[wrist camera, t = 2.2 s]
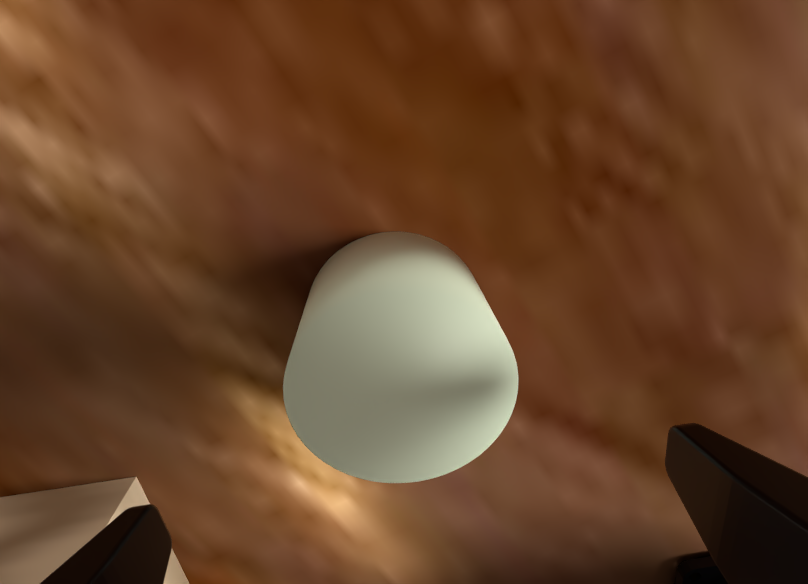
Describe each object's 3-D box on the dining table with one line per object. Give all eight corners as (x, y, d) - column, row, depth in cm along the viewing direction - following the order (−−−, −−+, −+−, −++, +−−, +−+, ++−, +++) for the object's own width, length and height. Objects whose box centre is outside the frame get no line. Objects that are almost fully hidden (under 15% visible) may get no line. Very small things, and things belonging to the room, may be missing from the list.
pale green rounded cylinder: (473, 218, 13) (513, 268, 9) (485, 373, 15) (522, 465, 11) (288, 245, 13) (255, 307, 9) (326, 398, 15) (311, 497, 11)
